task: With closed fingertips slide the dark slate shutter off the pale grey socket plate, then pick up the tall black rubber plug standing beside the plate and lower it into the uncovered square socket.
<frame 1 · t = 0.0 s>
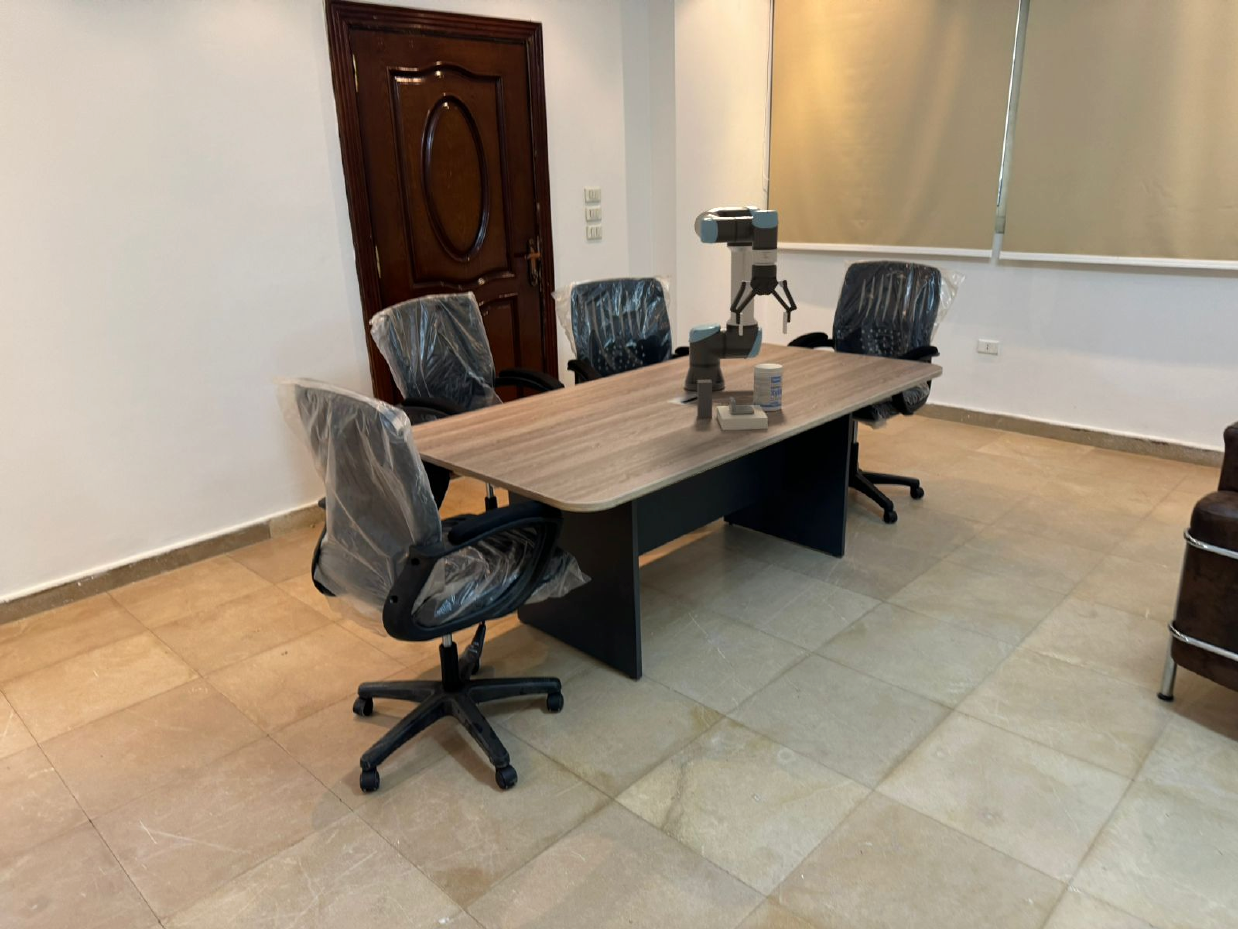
hand: (762, 334, 252), 28 cm above the table, fingers open, 13 cm apart
supplement tub: (767, 409, 276), on the table
socket plate: (741, 422, 260), on the table
shutter: (741, 405, 259), point 6 cm above the table, slide at 0.0 cm
plug: (704, 416, 268), on the table
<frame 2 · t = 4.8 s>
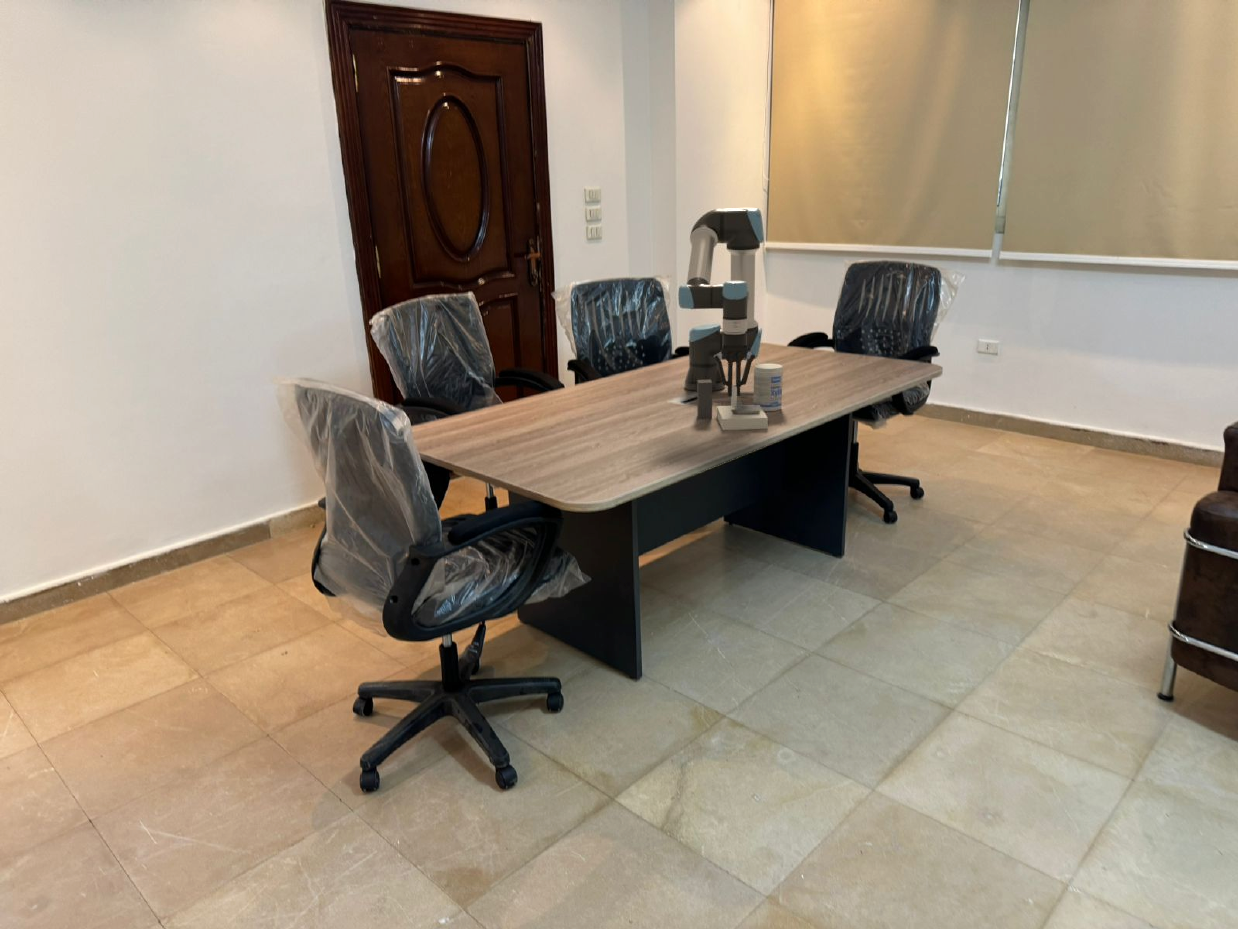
hand: (733, 406, 259), 5 cm above the table, fingers closed
shutter: (747, 404, 259), point 6 cm above the table, slide at 1.7 cm, touching gripper
everything else where it was.
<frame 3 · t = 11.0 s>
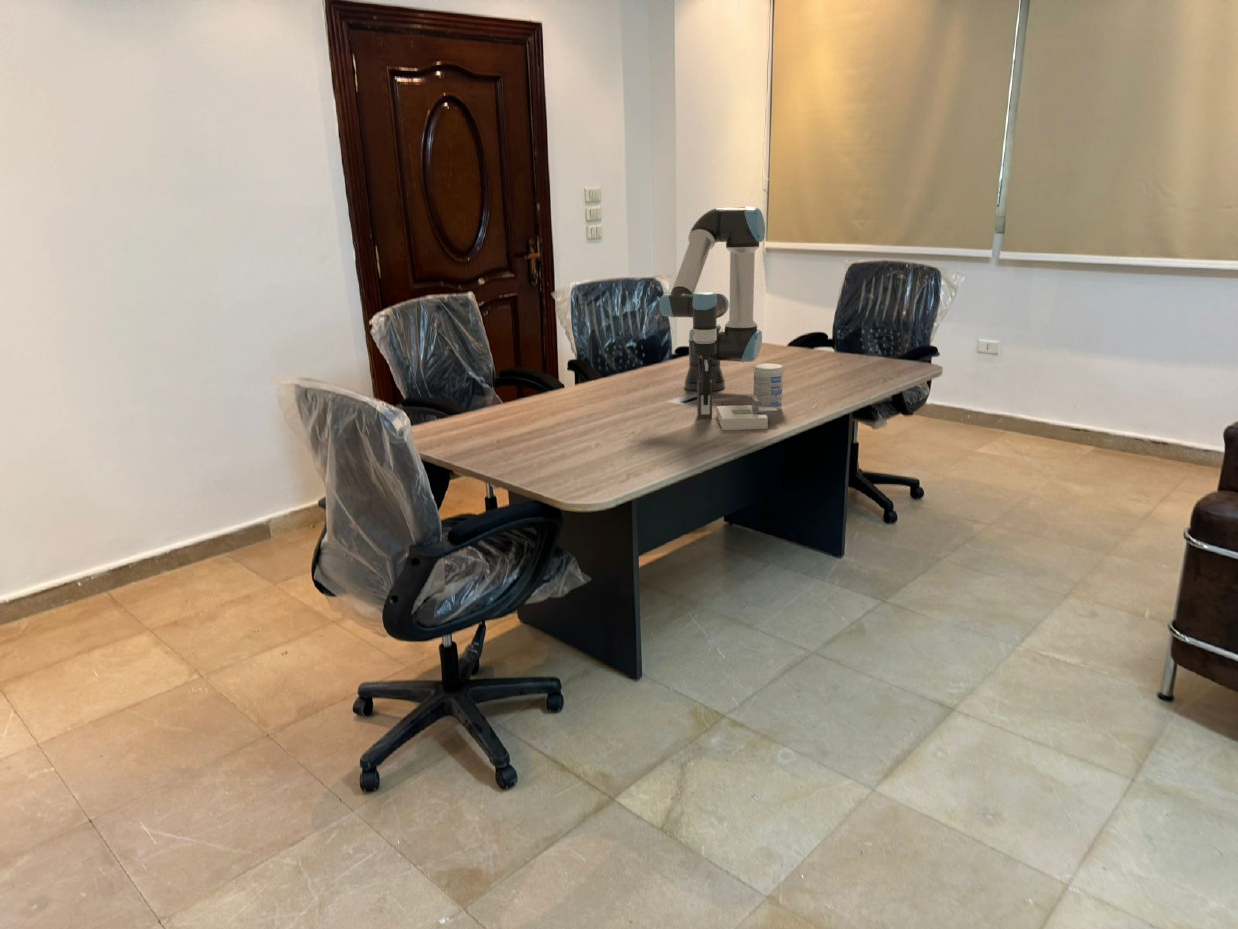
hand: (704, 411, 268), 2 cm above the table, fingers closed on plug, 4 cm apart
shutter: (764, 404, 259), point 6 cm above the table, slide at 7.2 cm
plug: (704, 416, 268), on the table, touching gripper
everything else where it was.
when the fingers open (4 cm above the table, at t = 15.2 s): plug drops 3 cm, resting in socket plate.
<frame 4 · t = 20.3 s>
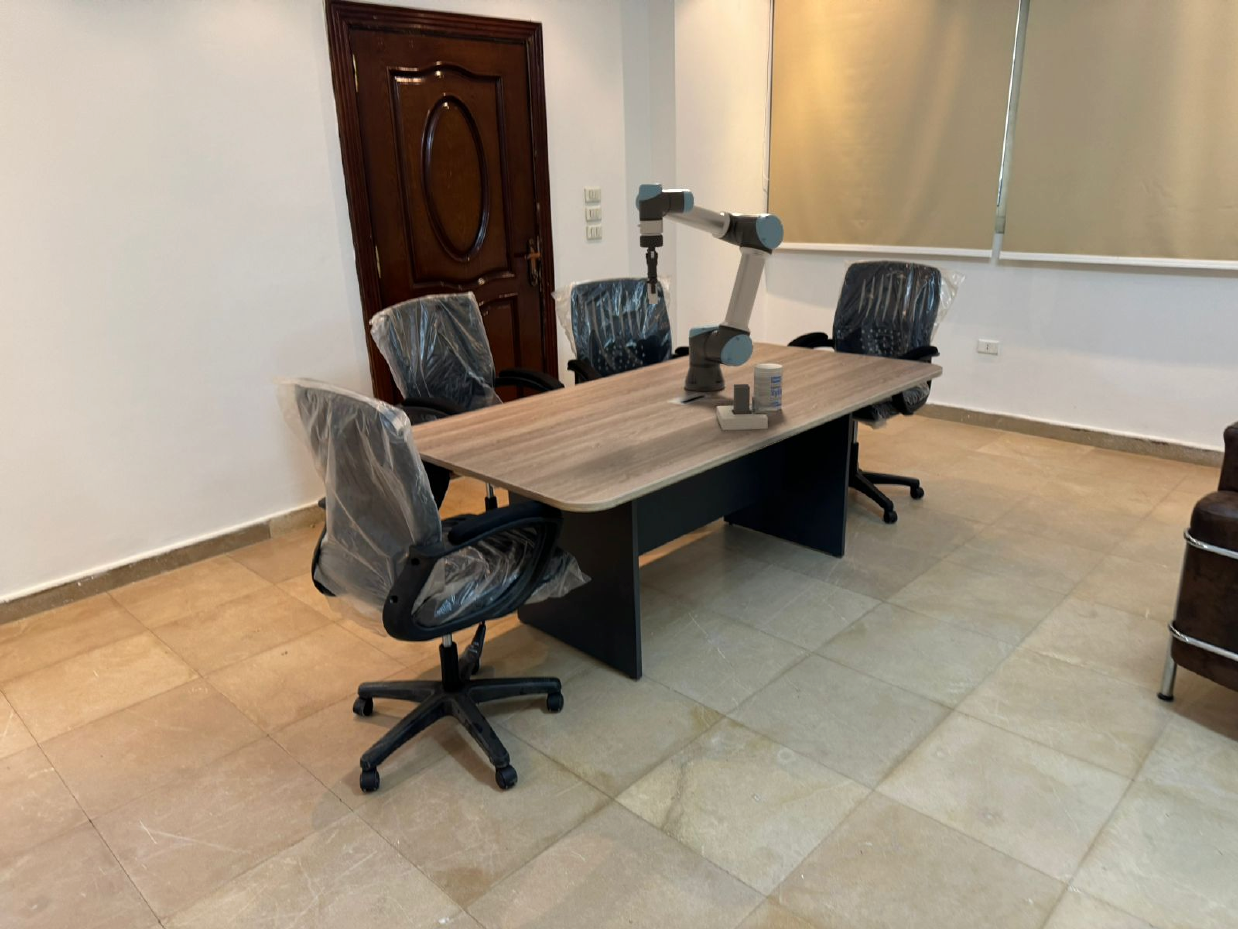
hand: (652, 301, 268), 37 cm above the table, fingers open, 13 cm apart
plug: (741, 422, 261), resting in socket plate
everything else where it was.
at the end: plug 0.0 cm off-centre on the socket plate, point 0.0 cm above the socket plate's base; plug tilted 0°; shutter slide at 7.2 cm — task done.
